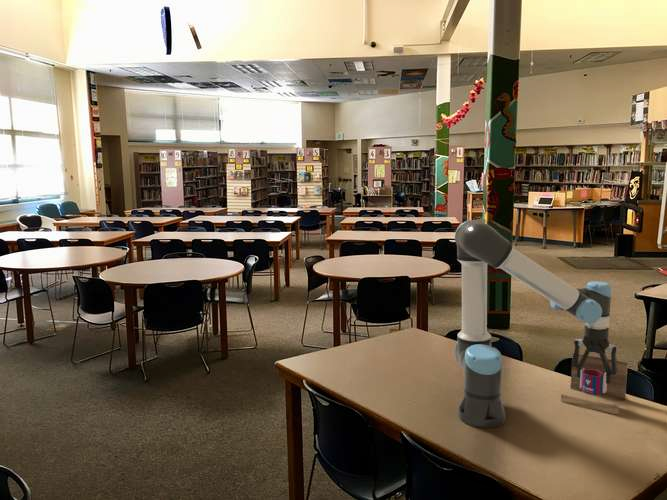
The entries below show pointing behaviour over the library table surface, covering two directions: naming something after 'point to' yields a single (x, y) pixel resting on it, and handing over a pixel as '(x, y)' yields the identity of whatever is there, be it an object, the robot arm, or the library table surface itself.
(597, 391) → the mug
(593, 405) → the cleat ledge
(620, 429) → the library table surface
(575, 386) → the wall board
